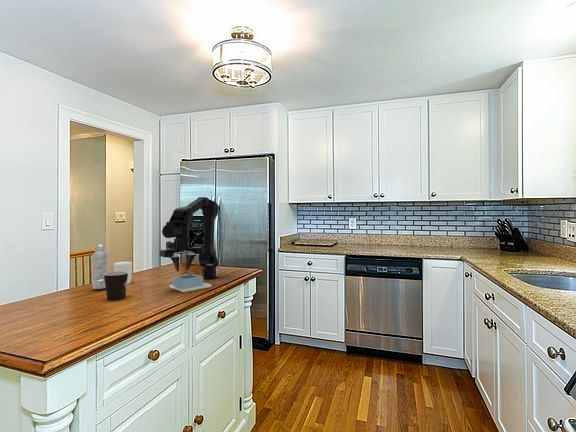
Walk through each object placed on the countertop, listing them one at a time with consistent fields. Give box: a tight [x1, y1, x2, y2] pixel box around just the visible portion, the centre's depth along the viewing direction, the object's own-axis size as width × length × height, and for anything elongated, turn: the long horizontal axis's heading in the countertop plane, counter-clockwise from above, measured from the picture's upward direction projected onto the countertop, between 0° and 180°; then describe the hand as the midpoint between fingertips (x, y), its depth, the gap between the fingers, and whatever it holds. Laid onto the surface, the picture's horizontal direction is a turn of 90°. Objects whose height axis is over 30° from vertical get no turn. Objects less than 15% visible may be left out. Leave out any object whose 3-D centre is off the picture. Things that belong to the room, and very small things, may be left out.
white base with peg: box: [169, 270, 212, 293], centre depth 145 cm, size 14×13×7 cm
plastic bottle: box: [91, 243, 110, 291], centre depth 141 cm, size 6×7×20 cm
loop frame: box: [171, 273, 204, 289], centre depth 144 cm, size 10×10×4 cm
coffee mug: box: [104, 271, 128, 301], centre depth 128 cm, size 12×9×10 cm
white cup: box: [113, 261, 133, 285], centre depth 152 cm, size 8×8×10 cm
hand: (182, 270), depth 142 cm, fingers open, 4 cm apart
